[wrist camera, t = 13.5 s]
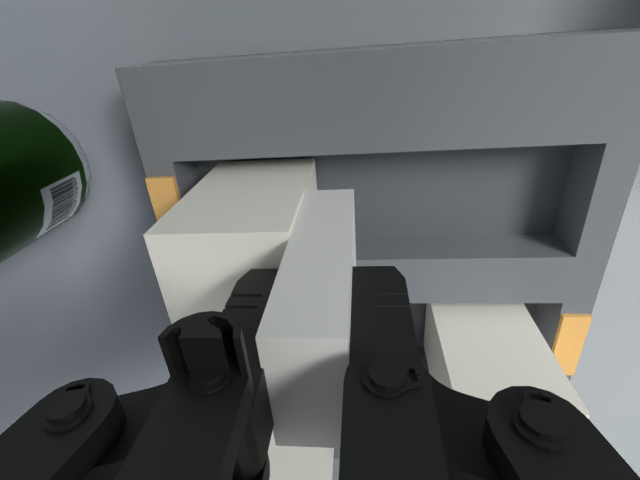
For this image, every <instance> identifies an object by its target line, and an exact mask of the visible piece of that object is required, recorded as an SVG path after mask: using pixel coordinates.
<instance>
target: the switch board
mask: <svg viewBox="0 0 640 480" xmlns="http://www.w3.org/2000/svg"><path fill="white" fill-rule="evenodd" d="M115 71H116V75H117V78H118V82H119V85H120V89H121V92H122V95H123V99H124V102H125V106H126V109H127V113H128V116H129V120H130V123H131V127H132V130H133V134H134V137H135V140H136V144H137V147H138V151H139V154H140V158H141V161H142V165H143V168H144V172H145V175H146V178H145V182H146V185H147V189H148V192H149V196H150V199H151V202H152V206H153V209H154V213H155V216H156V220H157V221H158V220H159V219H160V218H161V217H163V216H164V215H165V214H166V213H167V212H168V211H169V210H170V209H171V208H172V207H173V206H174V205H175V204H176V203H177V202H178V201H179V200H180V199H181V198H183V197H184V196H185V195H186V194H187V193H188V192H189V191H190V190H191V189H192V188H193V187H194V186H195V185H196V184H197V183H198V182H199V181H200V180H202V179H203V178H204V177H205V176H206V175H207V174H208V173H209V172H210V171H211V170H212V169H213V168H214V167H215V166H216V165H217V164H218V163H219V162H226V161H250V160H274V159H297V158H315V168H316V181H317V190H339V189H354V209H355V242H356V266H395V267H396V268H397V269H398V271H399V272H400V273H401V274H402V275H403V276H404V277H405V279H406V285H407V290H408V296H409V301H410V308H411V312H412V318H413V323H414V329H415V334H416V340H417V346H418V351H419V356H420V359H421V362H422V364H423V366H424V367H425V369H426V370H427V372H428V373H429V369H428V364H427V359H426V354H425V349H424V331H425V317H426V303H523V304H524V305H525V307H526V309H527V310H528V312H529V314H530V315H531V317H532V319H533V320H534V322H535V324H536V325H537V327H538V329H539V330H540V332H541V334H542V336H543V337H544V339H545V341H546V342H547V344H548V346H549V347H550V349H551V351H552V352H553V354H554V356H555V357H556V359H557V361H558V362H559V364H560V366H561V367H562V369H563V371H564V372H565V374H566V376H567V378H568V379H569V381H570V378H571V375H574V373H575V370H576V367H577V363H578V360H579V357H580V354H581V351H582V348H583V345H584V342H585V339H586V336H587V333H588V329H589V326H590V323H591V320H592V316H591V313H592V310H593V306H594V303H595V300H596V297H597V294H598V291H599V288H600V285H601V281H602V278H603V275H604V272H605V269H606V266H607V263H608V260H609V256H610V253H611V250H612V247H613V244H614V241H615V238H616V235H617V232H618V228H619V225H620V222H621V219H622V216H623V213H624V210H625V207H626V203H627V200H628V197H629V194H630V191H631V188H632V185H633V182H634V178H635V175H636V172H637V169H638V166H639V163H640V28H612V29H598V30H584V31H571V32H557V33H543V34H530V35H516V36H502V37H489V38H475V39H461V40H447V41H434V42H420V43H406V44H393V45H379V46H365V47H352V48H338V49H324V50H310V51H297V52H283V53H269V54H256V55H242V56H228V57H215V58H201V59H187V60H173V61H160V62H153V63H147V64H140V65H134V66H128V67H122V68H116V69H115ZM339 462H340V448H334V457H333V474H332V480H339Z"/></svg>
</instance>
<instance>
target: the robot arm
mask: <svg viewBox="0 0 640 480" xmlns="http://www.w3.org/2000/svg"><path fill="white" fill-rule="evenodd" d="M158 341H159V344H160V347H161V349H162V352H163V355H164V358H165V361H166V364H167V367H168V370H169V373H170V378H169V380H168V382H167V383H165V384H162V385H159V386H156V387H153V388H148V389H144V390H140V391H136V392H132V393H128V394H123V395H119V396H118V395H117V393H116V391H115V389H114V386H113V384H111V383H109V382H108V381H106V380H104V379H98V378H87V379H82V380H78V381H74V382H71V383H69V384H67V385H64V386H62V387H60V388H58V389H56V390H54V391H53V392H51V393H50V394H48V395H47V396H46V397H44V398H43V399H41V400H40V401H39V402H37V403H36V404H35V405H34V406H33V407H32V408H31V409H29V410H28V411H27V412H26V413H25V414H24V415H23V416H21V417H20V418H19V419H18V420H17V421H16V422H15V423H13V424H12V425H11V426H10V427H9V428H8V429H7V430H6V431H4V432H3V433H2V434H1V435H0V480H269V478H270V461H269V456H268V449H269V444H270V440H271V435H272V430H273V434H274V439H275V444H276V446H298V447H322V448H340V462H339V480H640V478H639V476H638V475H637V474H636V473H635V472H634V471H633V470H632V468H631V467H630V466H629V465H628V464H627V463H626V461H625V460H624V459H623V458H622V457H621V456H620V455H619V453H618V452H617V451H616V450H615V449H614V448H613V447H612V445H611V444H610V443H609V442H608V441H607V440H606V439H605V437H604V436H603V435H602V434H601V433H600V432H599V431H598V429H597V428H596V427H595V426H594V425H593V424H592V423H591V421H590V420H589V419H588V418H587V417H586V416H585V415H584V414H583V413H582V412H581V411H579V410H578V409H577V408H576V407H575V406H574V405H573V404H571V403H570V402H569V401H567V400H565V399H563V398H561V397H560V396H558V395H556V394H554V393H552V392H550V391H547V390H543V389H539V388H536V387H532V386H511V387H508V388H505V389H503V390H500V391H498V392H497V393H496V394H495V395H494V396H493V397H492V399H491V400H490V401H488V400H484V399H481V398H477V397H474V396H470V395H467V394H463V393H461V392H458V391H455V390H453V389H450V388H448V387H446V386H445V385H443V384H441V383H440V382H438V381H437V380H436V379H435V378H433V377H432V376H431V375H430V374H429V373H428V372H427V370H426V369H425V367H424V366H423V364H422V362H421V359H420V356H419V351H418V346H417V340H416V334H415V329H414V323H413V318H412V312H411V308H410V301H409V296H408V290H407V285H406V279H405V277H404V276H403V275H402V274H401V273H400V272H399V271H398V269H397V268H396V267H395V266H356V242H355V209H354V189H339V190H308V191H305V194H304V197H303V199H302V202H301V205H300V208H299V211H298V214H297V217H296V220H295V223H294V226H293V229H292V232H291V235H290V238H289V240H288V243H287V246H286V249H285V252H284V255H283V258H282V261H281V264H280V267H279V269H250V270H249V271H248V272H247V273H246V274H244V275H243V276H242V277H241V278H240V279H239V280H237V282H236V284H235V286H234V288H233V290H232V292H231V297H229V298H228V301H227V303H226V305H225V309H223V311H222V312H217V311H207V312H199V313H195V314H192V315H189V316H186V317H183V318H181V319H179V320H178V321H176V322H175V323H173V324H171V325H170V326H168V327H167V328H166V329H165V330H164V331H163V332H162V333H161V334H160V335H159V337H158Z"/></svg>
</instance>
